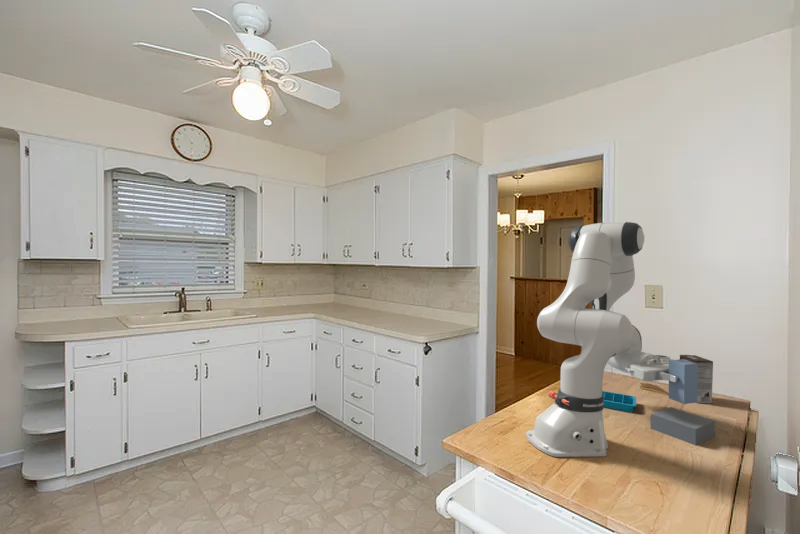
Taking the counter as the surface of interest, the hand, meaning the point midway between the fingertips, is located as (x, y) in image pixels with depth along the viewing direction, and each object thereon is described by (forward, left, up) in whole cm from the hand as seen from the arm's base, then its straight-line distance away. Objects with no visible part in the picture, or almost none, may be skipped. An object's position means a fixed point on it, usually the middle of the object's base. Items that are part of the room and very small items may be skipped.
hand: (685, 378), depth 113 cm
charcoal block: (0, +1, -17) cm, 17 cm away
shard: (+27, +35, -18) cm, 47 cm away
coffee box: (+33, +23, -17) cm, 44 cm away
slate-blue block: (0, +1, -7) cm, 7 cm away
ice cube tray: (-5, +27, -17) cm, 32 cm away
